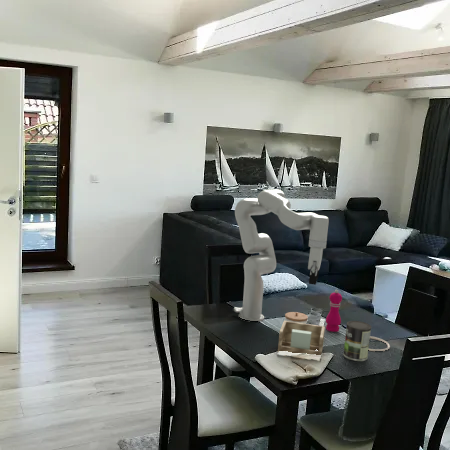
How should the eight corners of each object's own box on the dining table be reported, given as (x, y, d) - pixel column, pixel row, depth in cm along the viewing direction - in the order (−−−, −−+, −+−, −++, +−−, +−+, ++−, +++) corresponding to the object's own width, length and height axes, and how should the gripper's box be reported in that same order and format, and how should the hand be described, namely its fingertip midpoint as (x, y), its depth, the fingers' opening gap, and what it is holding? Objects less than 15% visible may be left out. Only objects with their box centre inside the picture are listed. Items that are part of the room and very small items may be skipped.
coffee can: (347, 360, 229) (350, 328, 227) (340, 351, 239) (343, 320, 237) (371, 361, 230) (375, 329, 228) (363, 351, 240) (366, 321, 238)
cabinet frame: (277, 354, 230) (279, 332, 229) (282, 342, 245) (284, 320, 244) (320, 361, 226) (322, 338, 225) (322, 348, 241) (325, 326, 240)
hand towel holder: (374, 345, 238) (338, 330, 254) (373, 355, 238) (337, 339, 255) (398, 339, 248) (362, 324, 264) (397, 348, 249) (361, 333, 265)
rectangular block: (289, 351, 232) (291, 331, 231) (290, 349, 235) (292, 329, 233) (308, 354, 230) (311, 334, 229) (309, 352, 233) (311, 331, 232)
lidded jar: (309, 330, 263) (311, 311, 261) (302, 337, 253) (304, 317, 252) (287, 325, 267) (289, 307, 266) (280, 332, 258) (282, 313, 256)
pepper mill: (340, 333, 262) (344, 292, 259) (324, 331, 263) (328, 290, 260) (340, 328, 269) (344, 288, 266) (325, 326, 270) (329, 286, 267)
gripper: (310, 239, 250) (307, 275, 253) (306, 246, 234) (302, 285, 237) (327, 241, 249) (323, 277, 252) (324, 248, 232) (320, 287, 235)
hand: (313, 281), depth 244 cm, fingers open, 9 cm apart
